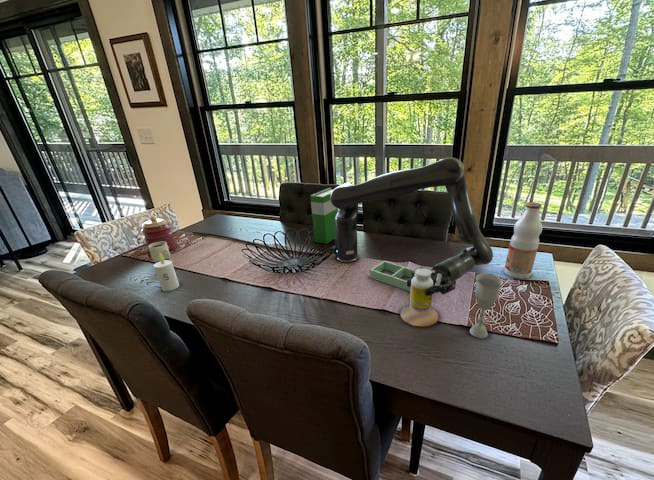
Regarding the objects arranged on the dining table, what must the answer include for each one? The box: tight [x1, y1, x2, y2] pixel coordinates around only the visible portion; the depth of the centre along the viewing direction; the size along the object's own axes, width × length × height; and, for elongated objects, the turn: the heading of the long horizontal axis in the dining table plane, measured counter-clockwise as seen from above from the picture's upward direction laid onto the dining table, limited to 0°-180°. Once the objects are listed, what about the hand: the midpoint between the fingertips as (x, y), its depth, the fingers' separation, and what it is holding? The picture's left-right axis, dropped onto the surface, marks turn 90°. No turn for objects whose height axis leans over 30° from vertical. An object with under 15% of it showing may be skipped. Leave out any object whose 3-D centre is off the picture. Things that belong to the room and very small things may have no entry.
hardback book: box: [309, 187, 338, 245], centre depth 161 cm, size 18×7×24 cm, turn 150°
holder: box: [369, 260, 416, 293], centre depth 122 cm, size 20×10×4 cm, turn 50°
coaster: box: [399, 304, 439, 328], centre depth 101 cm, size 12×12×1 cm
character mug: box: [147, 242, 171, 263], centre depth 135 cm, size 11×7×13 cm, turn 67°
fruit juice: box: [503, 201, 544, 280], centre depth 117 cm, size 9×9×28 cm
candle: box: [153, 252, 180, 292], centre depth 122 cm, size 6×6×15 cm
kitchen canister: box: [140, 216, 177, 253], centre depth 157 cm, size 13×13×18 cm
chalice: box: [469, 273, 504, 339], centre depth 88 cm, size 7×7×18 cm
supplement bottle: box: [409, 267, 433, 312], centre depth 97 cm, size 7×7×13 cm
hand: (417, 288), depth 95 cm, fingers closed on supplement bottle, 6 cm apart
